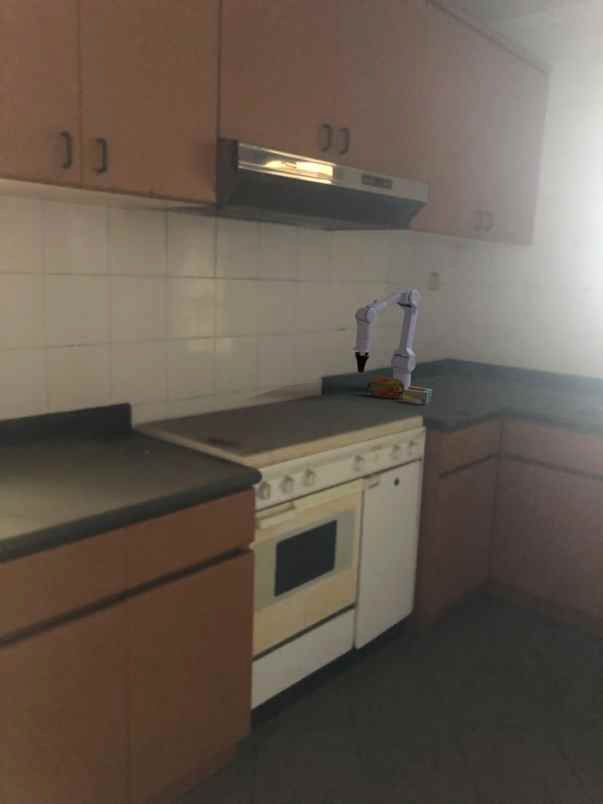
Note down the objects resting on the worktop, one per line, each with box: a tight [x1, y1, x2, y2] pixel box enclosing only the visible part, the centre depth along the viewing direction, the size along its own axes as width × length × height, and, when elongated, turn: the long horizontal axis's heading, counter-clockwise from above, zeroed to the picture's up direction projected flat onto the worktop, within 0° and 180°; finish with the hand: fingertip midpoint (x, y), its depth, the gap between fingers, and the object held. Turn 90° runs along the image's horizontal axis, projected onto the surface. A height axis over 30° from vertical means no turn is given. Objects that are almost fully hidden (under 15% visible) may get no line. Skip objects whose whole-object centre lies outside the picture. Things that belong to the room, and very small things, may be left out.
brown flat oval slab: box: [367, 376, 404, 400], centre depth 274 cm, size 15×3×8 cm, turn 73°
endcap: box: [402, 385, 433, 406], centre depth 270 cm, size 10×10×5 cm
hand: (360, 370), depth 271 cm, fingers open, 7 cm apart
